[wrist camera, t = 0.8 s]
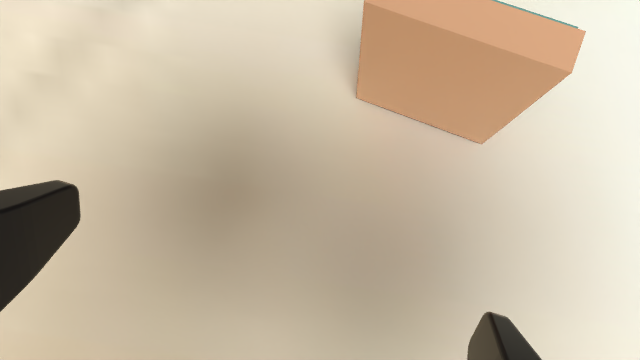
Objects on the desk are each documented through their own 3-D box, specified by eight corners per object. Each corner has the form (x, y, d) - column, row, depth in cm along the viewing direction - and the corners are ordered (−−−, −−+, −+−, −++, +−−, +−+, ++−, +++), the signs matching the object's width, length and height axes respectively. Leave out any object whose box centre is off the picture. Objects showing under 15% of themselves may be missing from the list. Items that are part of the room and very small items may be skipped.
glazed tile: (481, 144, 22) (571, 72, 14) (356, 97, 23) (363, 1, 14) (492, 115, 23) (587, 26, 14) (367, 69, 24) (382, -42, 15)
